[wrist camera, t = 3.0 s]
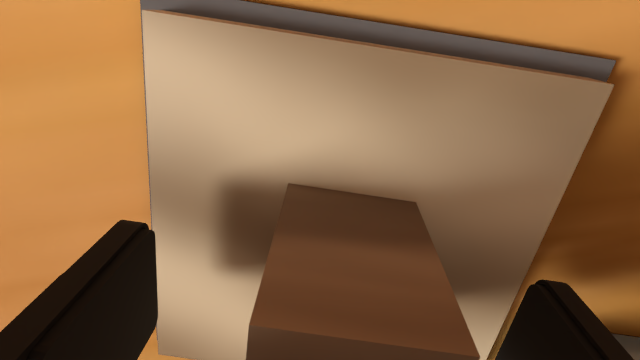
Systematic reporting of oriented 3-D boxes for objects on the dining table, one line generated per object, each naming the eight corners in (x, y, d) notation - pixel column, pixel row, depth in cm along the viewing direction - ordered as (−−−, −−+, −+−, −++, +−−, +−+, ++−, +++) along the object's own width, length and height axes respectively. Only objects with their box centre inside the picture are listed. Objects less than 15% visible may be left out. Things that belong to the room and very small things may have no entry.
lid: (160, 9, 9) (-85, 9, 4) (588, 77, 10) (917, 166, 4) (170, 331, 14) (62, 539, 8) (460, 372, 14) (537, 598, 9)
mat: (146, -15, 10) (139, -16, 9) (605, 58, 10) (616, 60, 9) (161, 331, 14) (156, 339, 14) (466, 373, 15) (469, 382, 14)
